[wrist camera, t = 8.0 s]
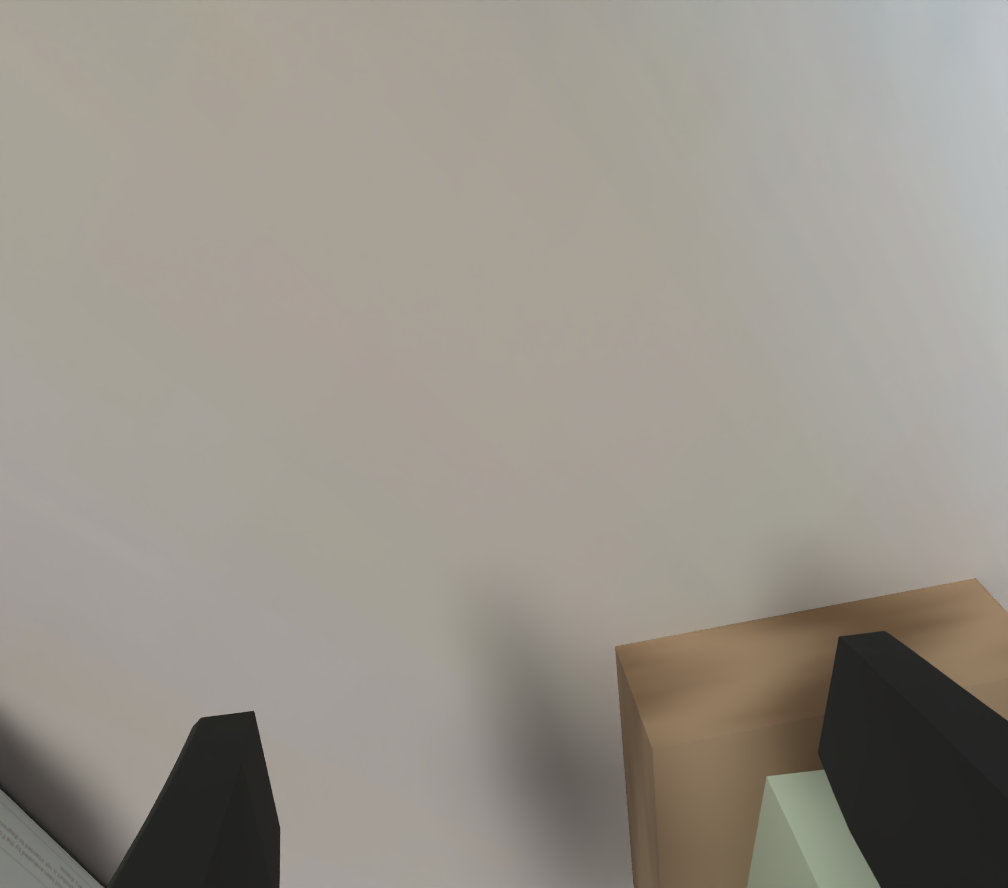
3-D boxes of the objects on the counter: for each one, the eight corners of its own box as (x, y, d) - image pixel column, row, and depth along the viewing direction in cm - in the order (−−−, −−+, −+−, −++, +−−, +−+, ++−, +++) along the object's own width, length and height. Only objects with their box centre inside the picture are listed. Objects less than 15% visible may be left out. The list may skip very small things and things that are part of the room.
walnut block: (966, 568, 26) (1059, 668, 23) (928, 810, 31) (999, 922, 28) (611, 635, 26) (652, 748, 22) (629, 872, 31) (665, 994, 27)
